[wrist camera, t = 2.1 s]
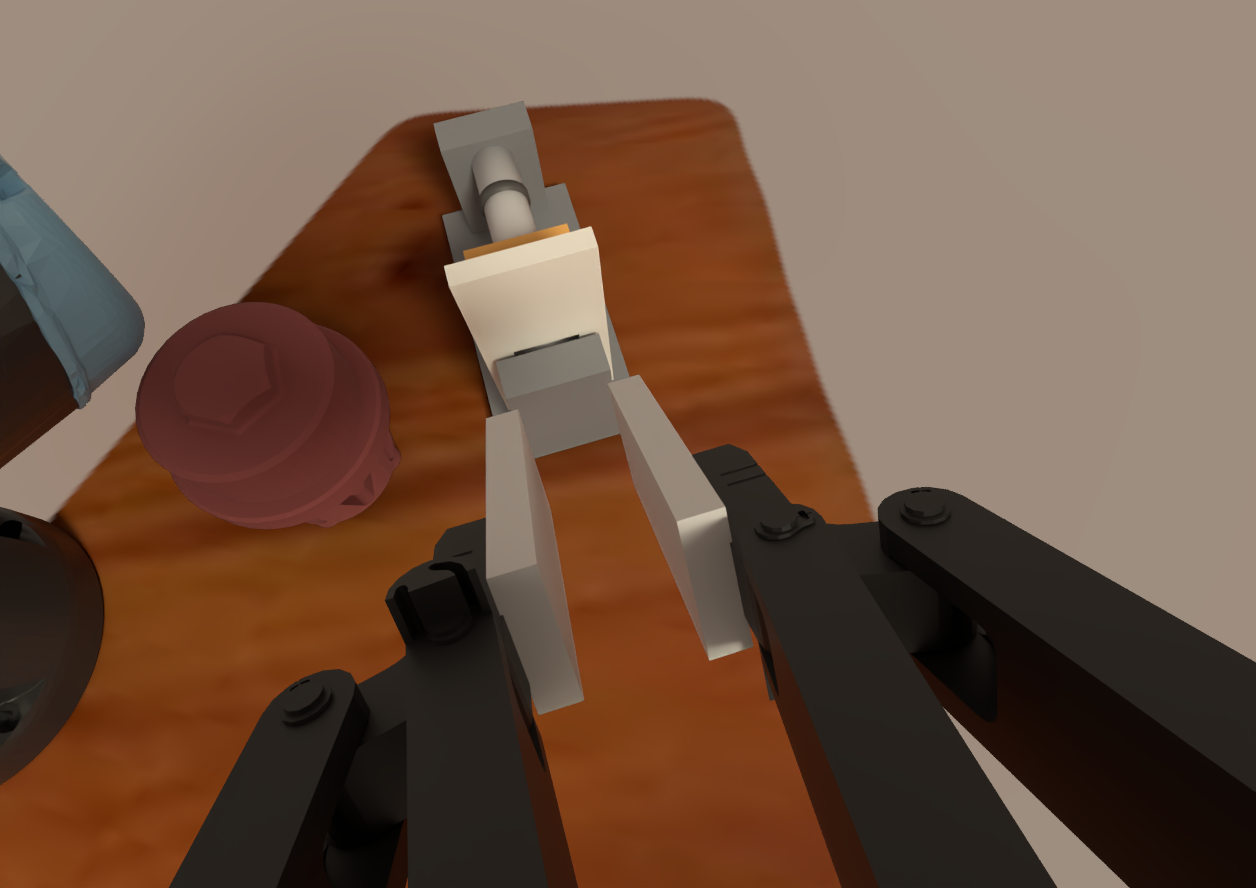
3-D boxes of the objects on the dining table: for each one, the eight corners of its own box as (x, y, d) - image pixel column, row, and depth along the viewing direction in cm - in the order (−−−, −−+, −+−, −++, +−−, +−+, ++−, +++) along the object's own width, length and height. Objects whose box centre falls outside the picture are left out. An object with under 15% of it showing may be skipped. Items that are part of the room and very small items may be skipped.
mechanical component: (331, 597, 38) (219, 478, 40) (468, 464, 40) (354, 359, 43) (190, 548, 26) (46, 385, 29) (393, 365, 29) (244, 230, 31)
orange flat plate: (583, 300, 39) (573, 243, 34) (491, 326, 39) (468, 271, 34) (577, 283, 40) (567, 223, 35) (486, 308, 39) (462, 251, 34)
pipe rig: (643, 426, 41) (641, 360, 33) (507, 466, 40) (473, 408, 32) (566, 195, 46) (549, 94, 39) (447, 227, 46) (406, 130, 38)
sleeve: (613, 380, 39) (597, 246, 28) (508, 410, 39) (449, 287, 28) (594, 319, 41) (571, 168, 29) (492, 347, 40) (429, 206, 29)
